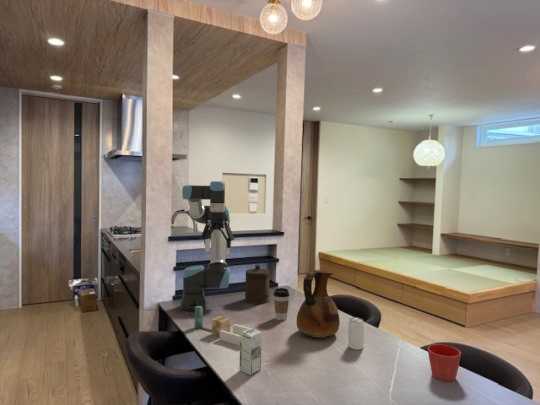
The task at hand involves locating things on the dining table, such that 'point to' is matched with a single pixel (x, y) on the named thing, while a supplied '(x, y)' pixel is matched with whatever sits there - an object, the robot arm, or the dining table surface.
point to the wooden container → (257, 285)
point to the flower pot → (444, 361)
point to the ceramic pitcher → (317, 307)
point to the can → (356, 333)
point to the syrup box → (250, 351)
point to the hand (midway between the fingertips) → (217, 252)
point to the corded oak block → (217, 323)
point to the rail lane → (233, 334)
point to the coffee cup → (281, 303)
